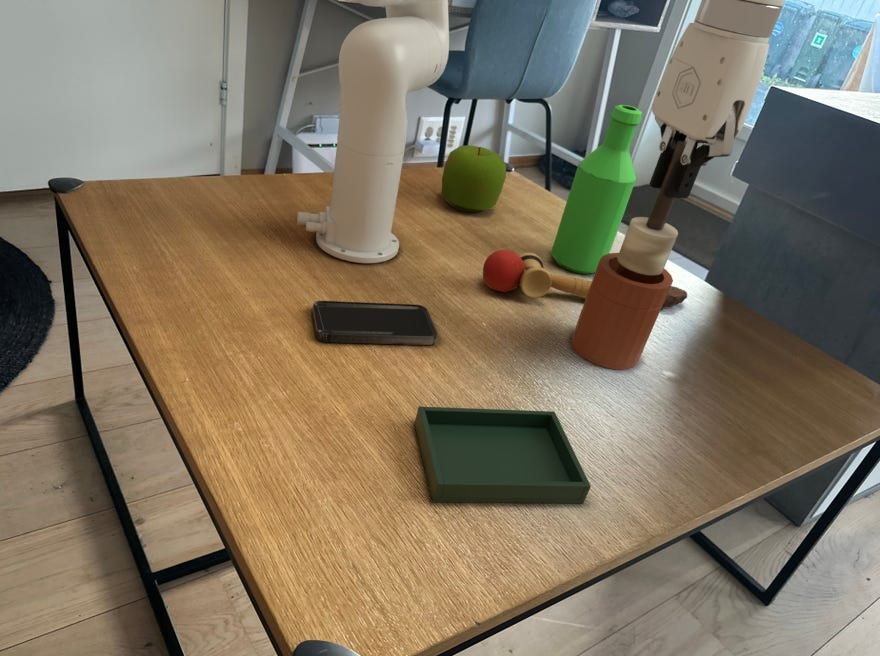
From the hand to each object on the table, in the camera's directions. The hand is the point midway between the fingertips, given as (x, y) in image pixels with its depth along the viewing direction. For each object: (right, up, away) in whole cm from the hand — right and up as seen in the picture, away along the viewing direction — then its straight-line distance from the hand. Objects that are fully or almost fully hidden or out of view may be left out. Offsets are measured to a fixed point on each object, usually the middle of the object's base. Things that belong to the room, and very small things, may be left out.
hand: (668, 190), depth 81 cm
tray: (-21, -30, -9) cm, 38 cm away
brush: (-1, -8, +5) cm, 10 cm away
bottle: (-2, -4, +34) cm, 34 cm away
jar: (-4, -18, +13) cm, 22 cm away
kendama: (-10, -10, +23) cm, 27 cm away
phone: (-34, -15, +8) cm, 38 cm away
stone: (+9, -11, +27) cm, 30 cm away
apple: (-19, +9, +47) cm, 51 cm away
